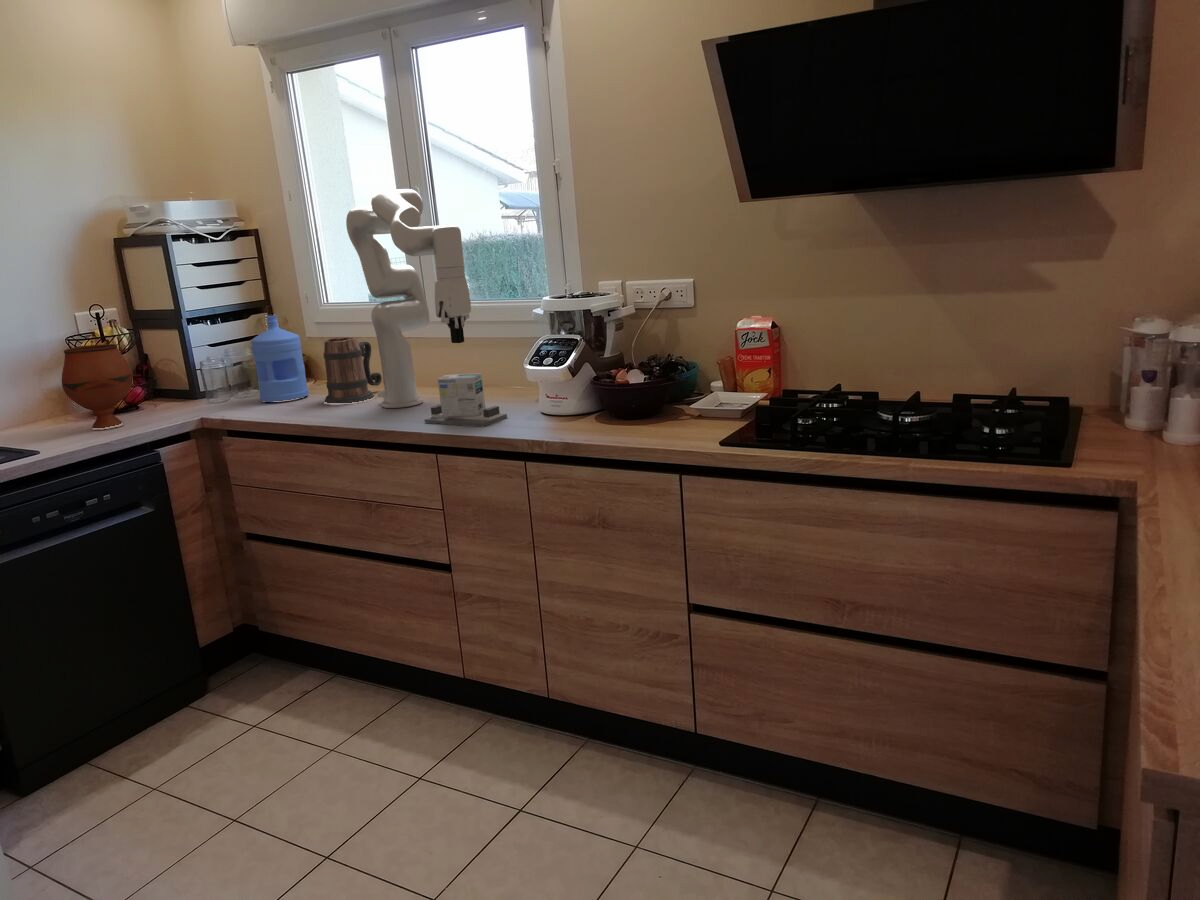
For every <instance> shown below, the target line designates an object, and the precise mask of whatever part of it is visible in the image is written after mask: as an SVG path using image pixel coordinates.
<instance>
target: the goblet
mask: <svg viewBox="0 0 1200 900" xmlns="http://www.w3.org/2000/svg"><path fill="white" fill-rule="evenodd" d="M63 353H64V360H63V367H62V372H61V387H62V390H63V392H64V394H65V395H66V396H67V397H68V398H69V399H71V401H73V402H74V403H76V404H77V405H78V406H80V407H83V408H85V409H87V410H89V411H92V415H94V416H95V417H96V419H95V421H94V423H93V424H92V427H91V429H92V428H105V427H110V426H115V425H119V424H121V423H122V422H123V421H122V420H120V418H118V417H116V416H115V414H114V412H115V407H116V406H117V405H119V404H120V403H121V402H122V401H123V400H125V398H126V397H127V396H128V394H129V392H130V390H131V389H132V387H133V380H134V376H133V372H132V370H131V367H130V365H129V363H128V362H127V360H126V358H125V357H124V356H123V354H122V353H121V351H120V350H119V347H118V344H115V343H114V344H113V343H112V344H111V343H110V344H108V343H105V344H92V345H91V344H89V345H82V346H74V347H70V348H67V349H64V350H63Z"/></svg>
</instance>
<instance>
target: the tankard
mask: <svg viewBox="0 0 1200 900" xmlns="http://www.w3.org/2000/svg"><path fill="white" fill-rule="evenodd" d="M371 357H372V345H371V344H370V342H369V341H360V342H359V341H358V338H357V337H342V338H340V337H339V338H336V337H335V338H329V339H326V340H324V349H323V359H324V364H325V374H326V383H325V385H326V388H327V395H326V396H325V399H324V401H325V402H327V403H352V402H359V401H364V400H367V399H371V398H373V397H374V396H375V395H374V394H373V392H372V391H371V390H369V385H370V386H371V387H372V386H373V387H374V386H376V387H377V386H379V385H380V384H381V383H382V381H383V379H382V378H383V376H382V375H381V373H380V372H372V373H371V369H370V360H371Z"/></svg>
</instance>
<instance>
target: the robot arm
mask: <svg viewBox="0 0 1200 900" xmlns="http://www.w3.org/2000/svg"><path fill="white" fill-rule="evenodd" d="M423 210H424V202H423V198H422V197H421V195H420V194H419V193H418V192H417V191H416V190H414V189H410V188H401V189H400V188H399V189H396V188H395V189H391V188H390V189H382V190H380V191H378V192H376V193H375V194H374V195H373V196H372V197H371V203H370V204H369V205H368V204H367V205H360V206H356V207H353V208H352V209H350V210H349V211H348V213H347V215H346V217H345V218H346V219H345V220H346V224H345V225H346V230H347V231H346V232H347V235H348V238H349V240H350V241H351V244H352V246H353V247H354V250H355V251H356V253H357V255H358V258H359V261H360V264H361V268H362V271H363V276H364V279H365V282H366V286H367V289H368V291H369V293H370V295H371V296H372V297H373V298H375V299H391V298H399V297H403V299H396V300H388V301H383V302H380V303H377V304H376V305H374V307H373V308H372V309H371V313H370V315H371V318H370V319H371V322H372V323H371V324H372V325H373V328H374V333H375V335H376V338H377V340H376V341H377V344H378V350H379V357H380V363H381V364H380V365H381V370H382V371H381V373H382V378H383V379H382V381H383V386H384V390H380V391H379V392H378V393H377V398H383V399H382V402H381V407H382V408H386V409H400V408H401V409H402V408H409V407H413V406H418V405H420V404H422V403H423V401H424V399H423V397H421V396H418V392H417V383H416V375H415V367H414V359H413V351H412V345H411V344H410V342H409V340H408V338H406V337H405V336H404V335H403V333H404V332H410V331H416V330H417V331H418V330H422V329H424V328H426V327H427V326H428V325H429V322H430V311H429V306H428V303H427V299H426V296H425V292H424V289H423V285H422V282H421V278H420V275H419V273H418V271H417V270H416V269H415V268H414V267H413V266H411V265H410V264H395V265H394V264H392V262H391V260H390V256H389V252H388V250H387V248H386V247H385V246H384V245H383V243H381V241H379V240H378V239H377V238H376V237H374V235H375V236H376V235H389V234H390V237H391V239H392V242H393V244H394V246H395V247H396V248H397V249H399V250H400V251H401V252H402V253H404V254H405V255H407V256H410V257H422V256H434V263H435V272H436V280H435V284H434V304H435V305H434V306H435V307H434V308H435V314H436V318H439V319H440V322H441V324H446V325H447V327H448V329H449V331H450V342H451V343H452V344H461V343H465V335H464V327H465V321H466V320H468V319H469V318H470V313H471V312H472V303H471V295H470V289H469V285H468V280H467V277H466V271H465V261H464V250H463V249H464V248H463V240H462V232H461V229H460V228H459V226H457V225H431V226H430V225H428V226H427V225H426V226H420V224H421V216H422V213H423Z"/></svg>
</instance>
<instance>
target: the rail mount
mask: <svg viewBox="0 0 1200 900" xmlns="http://www.w3.org/2000/svg"><path fill="white" fill-rule="evenodd" d="M430 412H431V415H430V416H431V417H428V418H425V419H424V423H425V422H427V423H426V424H430V423H441V424H440V425H447V424H454V425H453V426H464V425H474V426H473V427H481V426H484V427H486V426H488V425H487V424H489V425H491V424H490V423H492V424H494V423H496V421H497V422H499V421H502V420H504V419H507V418H508V414H507V413H500V406H499V405H493V406H490V407H487V408H485V409H484V410H483V413H481V414H480V415H478V416H451V417H442V409H441V403H440V404H437V405H435V406H431V407H430ZM506 417H507V418H506ZM503 418H504V419H503ZM501 419H502V420H501ZM498 420H499V421H498ZM428 422H429V423H428ZM493 422H494V423H493ZM455 424H456V425H455ZM485 425H486V426H485Z"/></svg>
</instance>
